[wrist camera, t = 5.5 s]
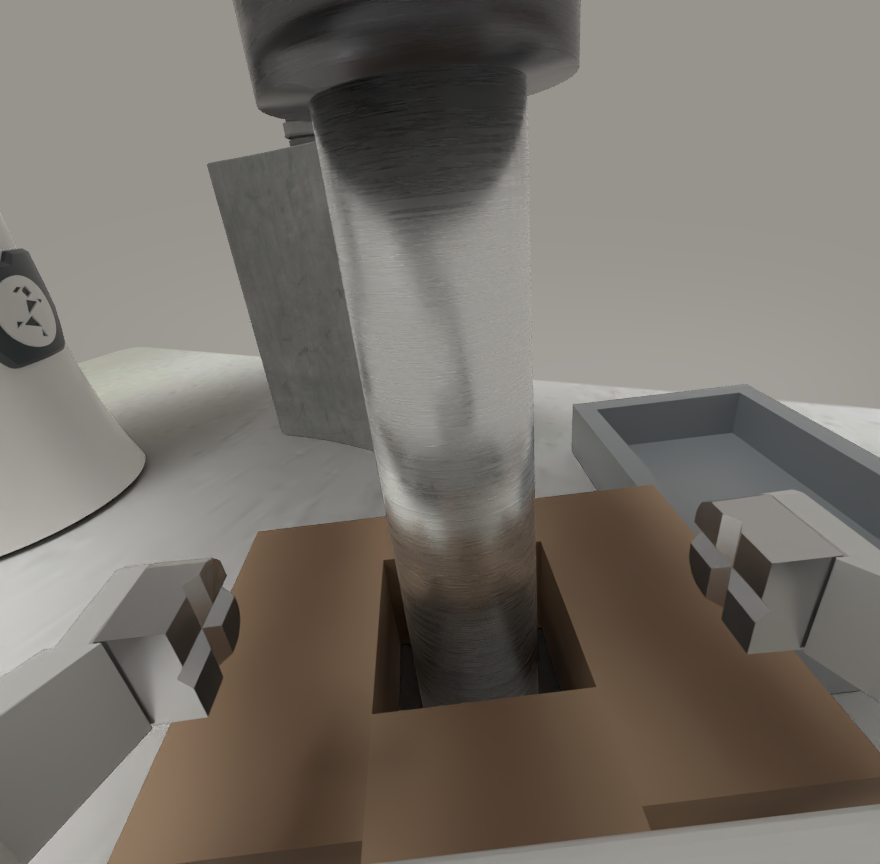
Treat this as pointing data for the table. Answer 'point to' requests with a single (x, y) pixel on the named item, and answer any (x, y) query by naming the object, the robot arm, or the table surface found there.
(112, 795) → the table surface
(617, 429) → the tray
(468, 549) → the steel pin
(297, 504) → the table surface
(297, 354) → the hip flask
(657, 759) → the block
